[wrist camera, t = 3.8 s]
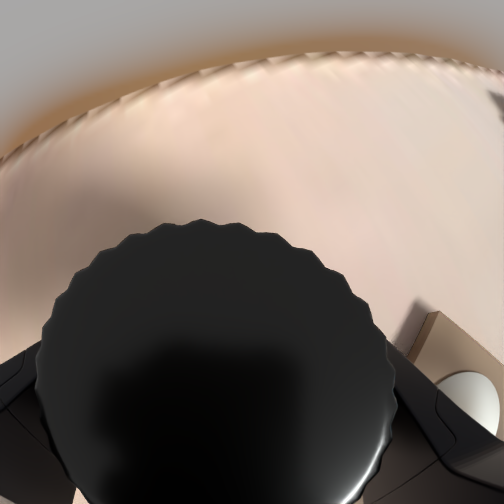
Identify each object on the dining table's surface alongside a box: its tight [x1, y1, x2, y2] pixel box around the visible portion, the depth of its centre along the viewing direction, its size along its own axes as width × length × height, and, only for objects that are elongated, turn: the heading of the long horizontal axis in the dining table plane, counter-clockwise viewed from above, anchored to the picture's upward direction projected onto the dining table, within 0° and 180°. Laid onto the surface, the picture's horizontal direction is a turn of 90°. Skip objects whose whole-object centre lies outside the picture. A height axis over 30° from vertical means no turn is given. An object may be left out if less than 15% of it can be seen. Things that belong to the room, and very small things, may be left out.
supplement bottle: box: [35, 219, 398, 504], centre depth 8 cm, size 7×7×12 cm
